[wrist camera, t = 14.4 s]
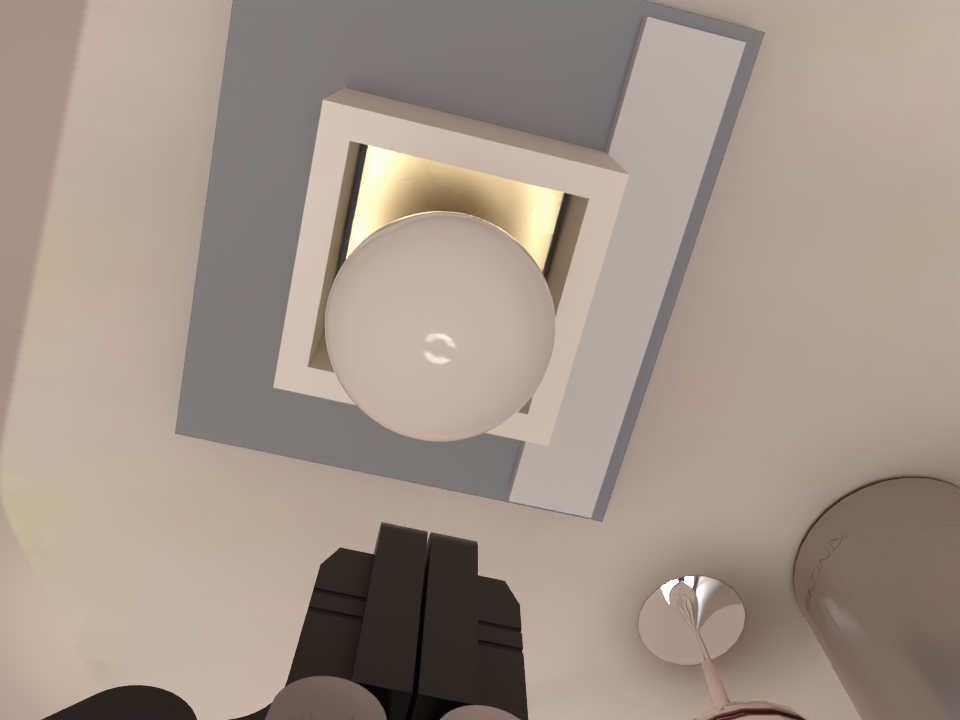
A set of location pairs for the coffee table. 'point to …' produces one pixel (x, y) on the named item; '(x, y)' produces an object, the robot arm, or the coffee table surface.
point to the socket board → (470, 145)
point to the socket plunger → (452, 199)
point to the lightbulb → (440, 326)
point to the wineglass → (702, 639)
